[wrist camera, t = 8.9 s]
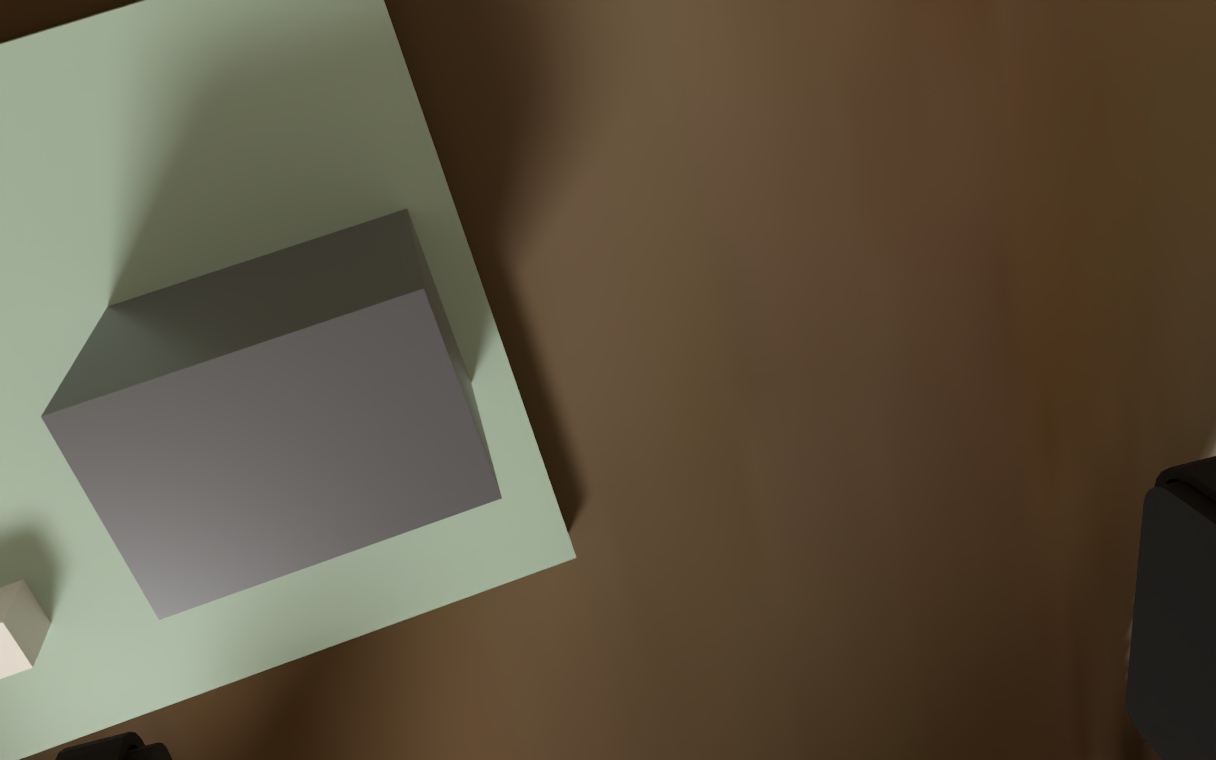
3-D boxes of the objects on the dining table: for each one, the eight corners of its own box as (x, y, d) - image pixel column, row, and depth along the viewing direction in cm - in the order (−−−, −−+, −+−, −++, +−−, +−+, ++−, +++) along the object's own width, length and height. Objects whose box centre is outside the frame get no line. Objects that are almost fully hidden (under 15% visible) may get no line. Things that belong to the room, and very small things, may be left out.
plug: (471, 383, 23) (502, 498, 18) (196, 477, 22) (159, 620, 18) (406, 208, 21) (423, 288, 17) (107, 306, 21) (41, 416, 16)
